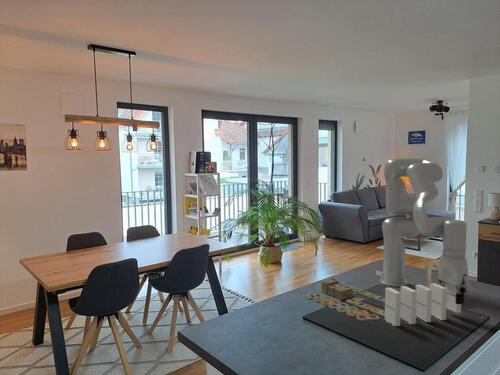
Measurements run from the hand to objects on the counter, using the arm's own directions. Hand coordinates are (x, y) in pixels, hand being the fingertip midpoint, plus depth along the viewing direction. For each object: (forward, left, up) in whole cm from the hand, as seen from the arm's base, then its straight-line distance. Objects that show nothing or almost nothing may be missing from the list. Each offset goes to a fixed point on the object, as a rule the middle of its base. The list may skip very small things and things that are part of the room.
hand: (452, 300), depth 139 cm
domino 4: (-3, -6, -6) cm, 9 cm away
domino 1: (-13, -22, -6) cm, 27 cm away
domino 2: (-10, -17, -6) cm, 20 cm away
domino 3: (-7, -11, -6) cm, 14 cm away
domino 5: (0, 0, -4) cm, 4 cm away
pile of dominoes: (-33, -13, -7) cm, 36 cm away
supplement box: (-12, +17, -6) cm, 21 cm away
